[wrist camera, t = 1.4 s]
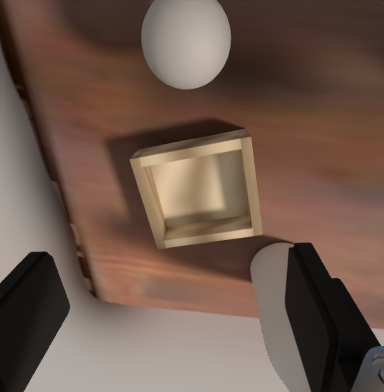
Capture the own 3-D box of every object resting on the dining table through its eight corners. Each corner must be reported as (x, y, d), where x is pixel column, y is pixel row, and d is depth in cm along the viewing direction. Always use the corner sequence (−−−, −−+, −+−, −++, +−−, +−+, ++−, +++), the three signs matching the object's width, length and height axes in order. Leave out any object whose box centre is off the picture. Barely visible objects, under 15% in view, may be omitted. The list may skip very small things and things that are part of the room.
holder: (246, 128, 29) (250, 136, 26) (257, 218, 34) (262, 234, 30) (138, 149, 31) (129, 159, 28) (162, 232, 35) (157, 249, 32)
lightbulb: (196, 96, 28) (188, 113, 18) (148, 52, 27) (111, 45, 17) (238, 43, 26) (256, 30, 16) (188, -8, 24) (173, -57, 15)
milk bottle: (243, 281, 38) (272, 477, 20) (258, 235, 35) (310, 420, 17) (298, 291, 38) (376, 494, 20) (318, 246, 35) (434, 441, 17)
